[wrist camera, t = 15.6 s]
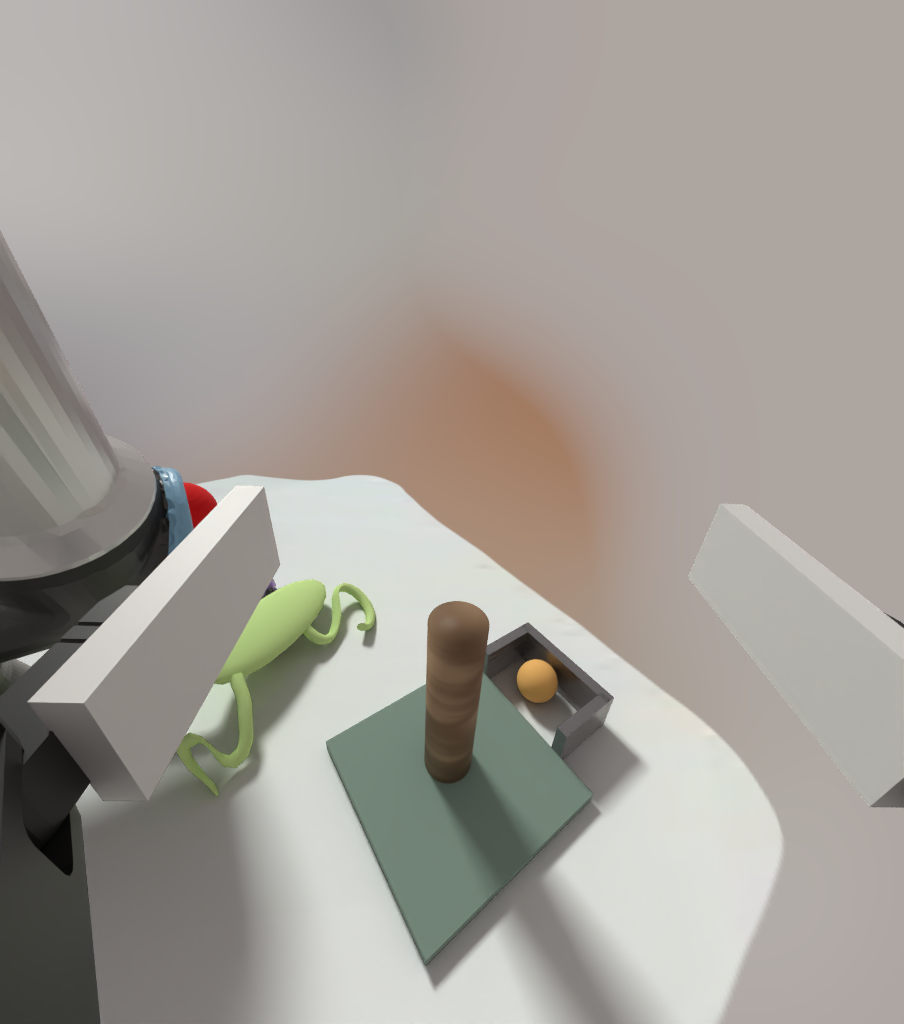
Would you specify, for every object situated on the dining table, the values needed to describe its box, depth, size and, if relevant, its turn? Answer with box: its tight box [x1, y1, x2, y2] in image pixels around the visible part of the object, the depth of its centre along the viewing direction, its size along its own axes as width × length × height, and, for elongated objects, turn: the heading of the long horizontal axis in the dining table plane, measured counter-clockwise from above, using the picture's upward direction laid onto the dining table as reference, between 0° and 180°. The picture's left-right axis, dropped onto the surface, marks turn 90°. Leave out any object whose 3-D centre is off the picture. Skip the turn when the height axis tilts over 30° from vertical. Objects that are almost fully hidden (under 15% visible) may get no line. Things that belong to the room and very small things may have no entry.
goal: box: [483, 623, 614, 760], centre depth 40 cm, size 6×11×4 cm, turn 36°
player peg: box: [424, 601, 489, 783], centre depth 31 cm, size 4×4×16 cm
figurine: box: [177, 578, 375, 796], centre depth 42 cm, size 18×27×6 cm
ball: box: [517, 659, 558, 703], centre depth 41 cm, size 4×4×4 cm
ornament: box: [183, 483, 217, 529], centre depth 59 cm, size 9×9×10 cm
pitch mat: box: [326, 672, 593, 966], centre depth 34 cm, size 16×16×1 cm
